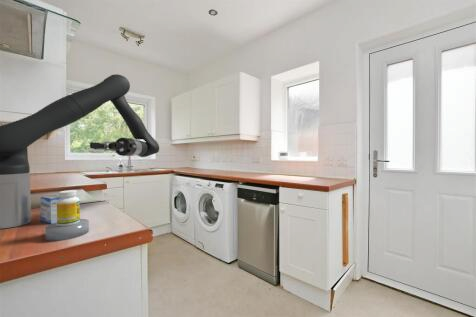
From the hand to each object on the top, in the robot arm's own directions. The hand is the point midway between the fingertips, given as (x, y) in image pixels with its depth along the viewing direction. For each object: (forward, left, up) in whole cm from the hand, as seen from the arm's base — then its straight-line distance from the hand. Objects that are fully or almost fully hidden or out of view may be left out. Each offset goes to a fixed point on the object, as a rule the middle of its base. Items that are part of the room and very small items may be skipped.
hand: (102, 145), depth 79 cm
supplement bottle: (0, -15, -24) cm, 28 cm away
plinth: (0, -15, -27) cm, 30 cm away
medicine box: (-17, -3, -27) cm, 32 cm away
